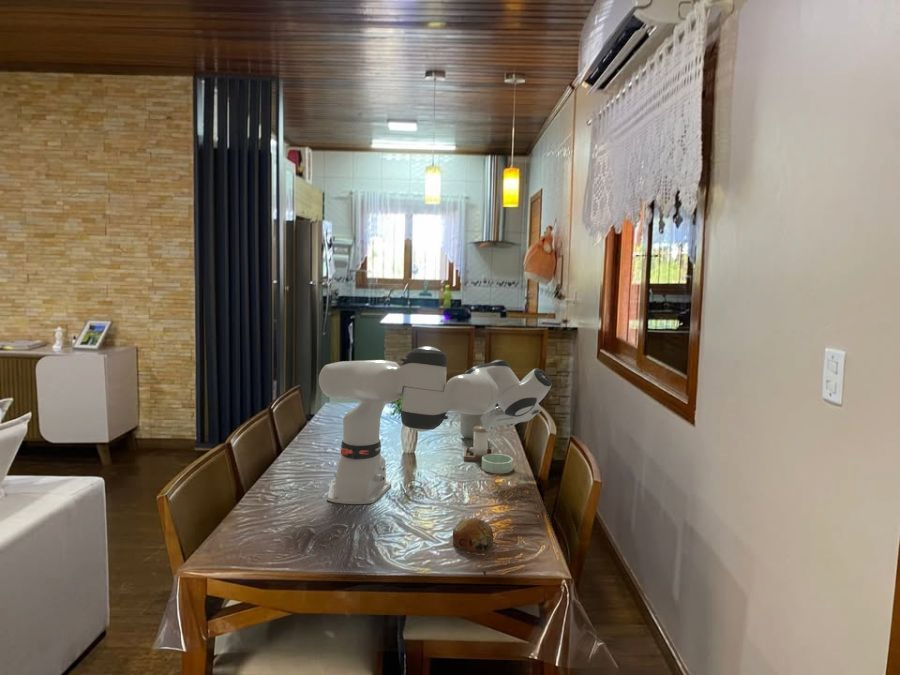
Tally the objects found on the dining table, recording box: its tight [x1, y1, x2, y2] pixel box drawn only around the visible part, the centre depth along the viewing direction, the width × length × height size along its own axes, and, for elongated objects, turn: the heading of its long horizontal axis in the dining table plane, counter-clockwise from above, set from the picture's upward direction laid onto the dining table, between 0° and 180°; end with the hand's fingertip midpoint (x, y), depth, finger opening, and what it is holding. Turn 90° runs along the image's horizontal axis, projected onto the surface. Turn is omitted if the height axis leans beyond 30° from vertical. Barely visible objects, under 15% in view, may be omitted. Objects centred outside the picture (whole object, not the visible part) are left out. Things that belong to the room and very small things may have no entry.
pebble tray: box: [463, 447, 494, 463], centre depth 217 cm, size 11×10×2 cm
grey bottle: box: [459, 369, 484, 440], centre depth 241 cm, size 10×10×28 cm
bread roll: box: [452, 517, 494, 553], centre depth 151 cm, size 10×10×8 cm
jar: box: [472, 426, 489, 457], centre depth 215 cm, size 5×5×11 cm
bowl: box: [481, 453, 514, 474], centre depth 205 cm, size 10×10×4 cm
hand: (498, 427), depth 208 cm, fingers open, 8 cm apart
